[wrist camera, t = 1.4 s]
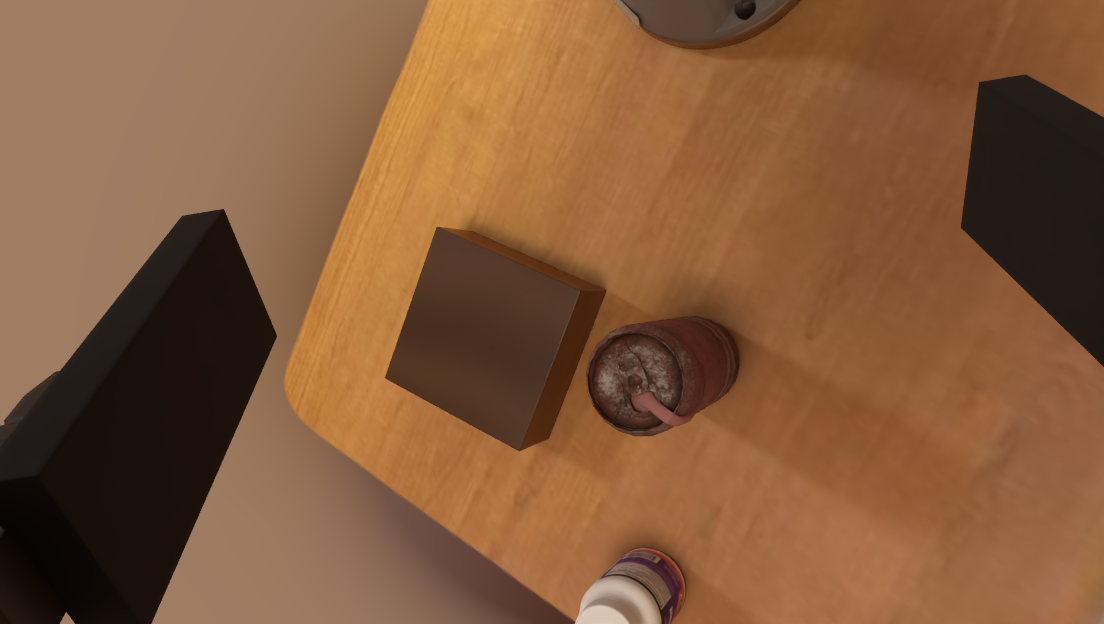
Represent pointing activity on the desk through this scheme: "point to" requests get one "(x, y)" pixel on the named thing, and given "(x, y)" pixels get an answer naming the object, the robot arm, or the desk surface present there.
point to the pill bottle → (635, 591)
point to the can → (660, 373)
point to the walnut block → (493, 336)
